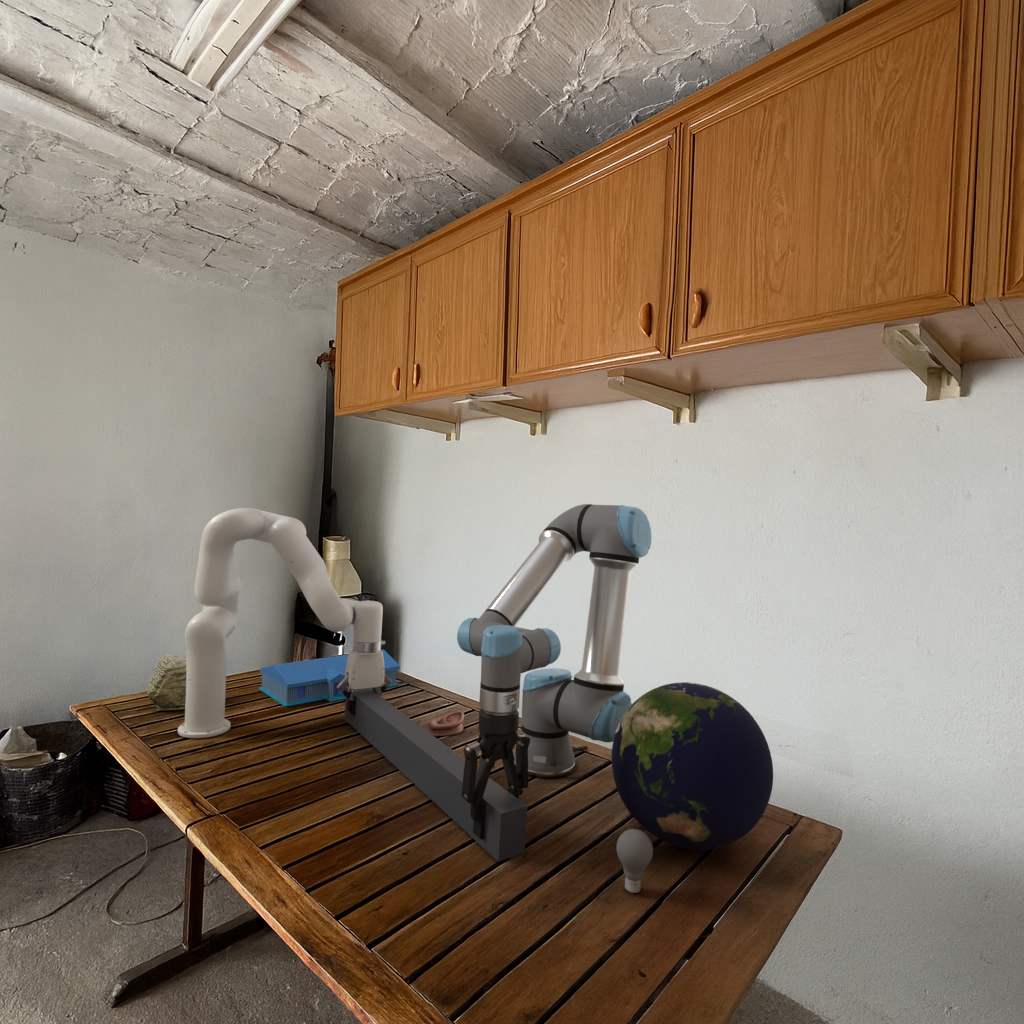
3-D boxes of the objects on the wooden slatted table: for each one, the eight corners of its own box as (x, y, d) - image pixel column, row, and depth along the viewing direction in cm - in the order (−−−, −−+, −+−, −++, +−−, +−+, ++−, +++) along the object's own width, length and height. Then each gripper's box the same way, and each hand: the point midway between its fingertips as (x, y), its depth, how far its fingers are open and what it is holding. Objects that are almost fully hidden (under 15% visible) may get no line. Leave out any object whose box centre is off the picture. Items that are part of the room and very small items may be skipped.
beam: (344, 719, 177) (345, 687, 177) (364, 715, 181) (365, 685, 181) (498, 862, 113) (501, 813, 112) (524, 853, 116) (527, 805, 116)
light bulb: (610, 879, 108) (613, 822, 108) (644, 879, 109) (647, 822, 109) (619, 902, 102) (622, 840, 102) (655, 901, 103) (658, 840, 103)
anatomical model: (409, 718, 171) (423, 705, 182) (408, 733, 171) (423, 719, 182) (456, 724, 168) (468, 710, 180) (455, 739, 168) (467, 724, 180)
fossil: (144, 707, 182) (145, 655, 182) (212, 696, 194) (213, 647, 194) (151, 716, 175) (153, 662, 175) (221, 703, 188) (223, 653, 188)
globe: (590, 859, 114) (598, 694, 114) (625, 791, 142) (631, 658, 142) (768, 905, 103) (778, 722, 103) (769, 822, 131) (776, 678, 130)
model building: (289, 709, 186) (291, 675, 185) (258, 688, 204) (259, 657, 204) (403, 687, 212) (405, 657, 212) (366, 670, 230) (368, 643, 230)
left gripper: (390, 641, 182) (386, 703, 182) (331, 646, 172) (327, 712, 172) (401, 646, 175) (397, 711, 176) (340, 652, 166) (337, 720, 166)
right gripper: (464, 724, 111) (459, 854, 111) (551, 707, 121) (546, 826, 122) (444, 711, 117) (439, 834, 117) (528, 696, 128) (523, 810, 128)
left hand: (363, 711), depth 174 cm, fingers closed on beam, 5 cm apart
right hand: (493, 830), depth 119 cm, fingers open, 6 cm apart
